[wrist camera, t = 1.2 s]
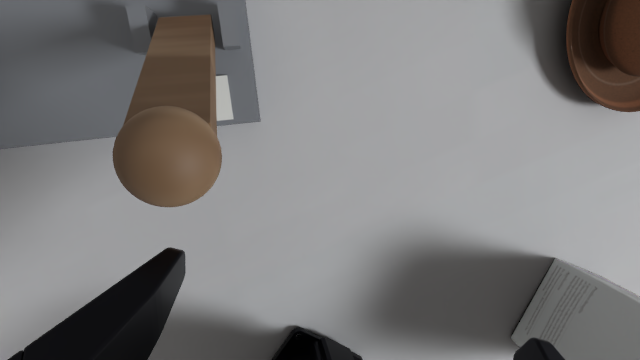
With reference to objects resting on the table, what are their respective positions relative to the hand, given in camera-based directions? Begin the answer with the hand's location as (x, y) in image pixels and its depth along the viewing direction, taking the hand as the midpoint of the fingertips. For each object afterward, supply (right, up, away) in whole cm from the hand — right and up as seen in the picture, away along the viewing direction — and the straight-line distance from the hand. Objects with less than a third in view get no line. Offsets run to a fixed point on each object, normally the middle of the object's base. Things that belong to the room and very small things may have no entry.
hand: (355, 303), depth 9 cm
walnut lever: (-7, +11, +9) cm, 16 cm away
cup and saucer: (+21, +14, +17) cm, 30 cm away
